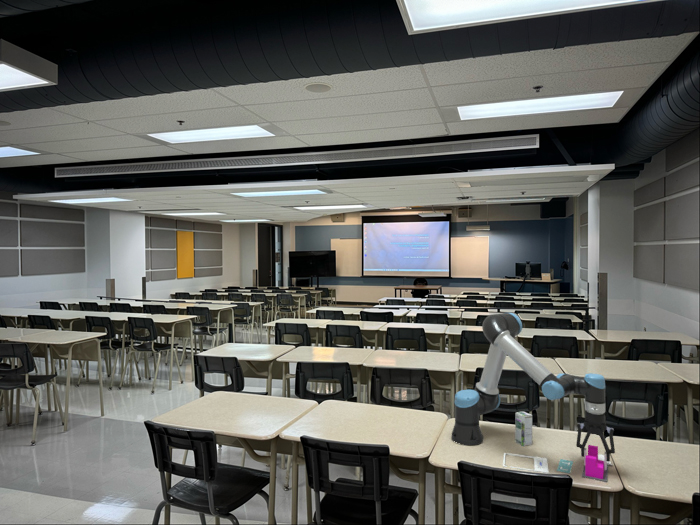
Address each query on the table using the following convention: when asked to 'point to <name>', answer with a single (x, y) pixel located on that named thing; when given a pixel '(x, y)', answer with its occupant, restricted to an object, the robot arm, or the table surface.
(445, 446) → the table surface
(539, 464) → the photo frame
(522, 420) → the syrup box
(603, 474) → the mat
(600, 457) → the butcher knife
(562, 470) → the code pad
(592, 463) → the toy block
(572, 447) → the table surface
